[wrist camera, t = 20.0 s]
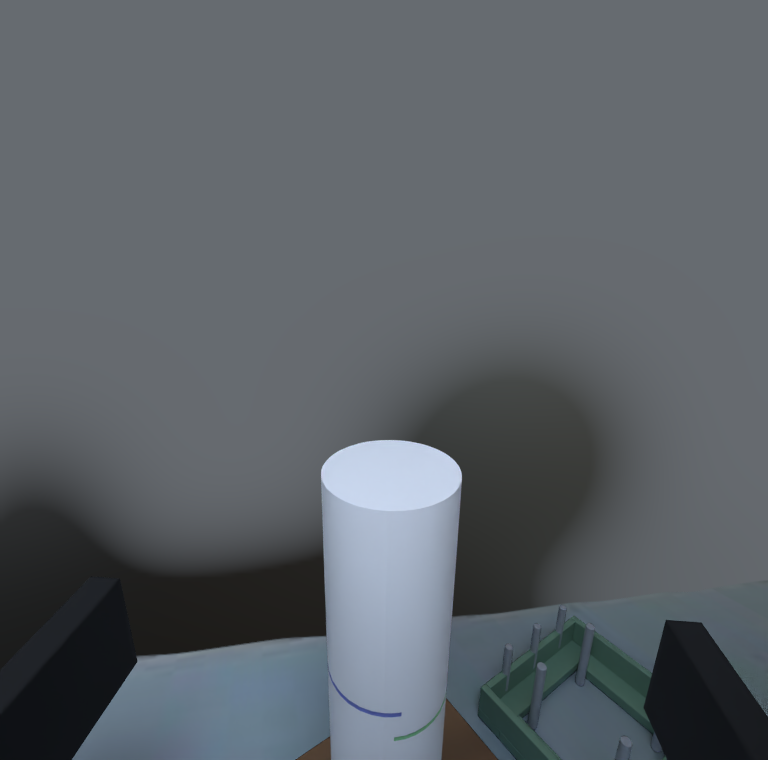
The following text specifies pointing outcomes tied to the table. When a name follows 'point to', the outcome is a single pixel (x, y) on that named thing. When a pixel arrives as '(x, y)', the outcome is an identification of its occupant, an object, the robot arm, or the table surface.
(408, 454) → the cylindrical container
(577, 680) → the drying rack
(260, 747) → the table surface
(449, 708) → the brown slab
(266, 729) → the table surface
